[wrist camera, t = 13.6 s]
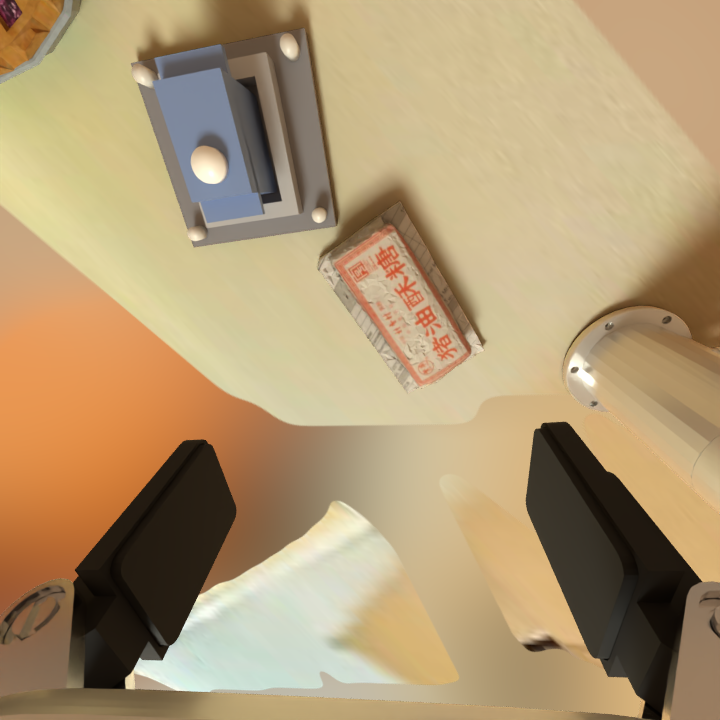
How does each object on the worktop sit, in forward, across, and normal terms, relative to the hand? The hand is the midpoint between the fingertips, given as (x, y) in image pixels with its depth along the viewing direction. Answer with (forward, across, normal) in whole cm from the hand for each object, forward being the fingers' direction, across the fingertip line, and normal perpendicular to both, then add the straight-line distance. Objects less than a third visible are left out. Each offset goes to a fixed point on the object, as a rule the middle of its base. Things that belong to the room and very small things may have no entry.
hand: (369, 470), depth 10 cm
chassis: (+27, +11, -12) cm, 31 cm away
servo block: (+26, +11, -12) cm, 30 cm away
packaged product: (+28, -2, +4) cm, 28 cm away
